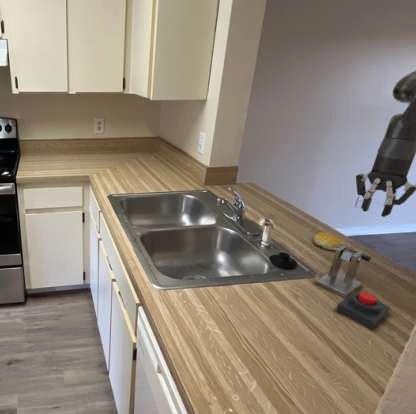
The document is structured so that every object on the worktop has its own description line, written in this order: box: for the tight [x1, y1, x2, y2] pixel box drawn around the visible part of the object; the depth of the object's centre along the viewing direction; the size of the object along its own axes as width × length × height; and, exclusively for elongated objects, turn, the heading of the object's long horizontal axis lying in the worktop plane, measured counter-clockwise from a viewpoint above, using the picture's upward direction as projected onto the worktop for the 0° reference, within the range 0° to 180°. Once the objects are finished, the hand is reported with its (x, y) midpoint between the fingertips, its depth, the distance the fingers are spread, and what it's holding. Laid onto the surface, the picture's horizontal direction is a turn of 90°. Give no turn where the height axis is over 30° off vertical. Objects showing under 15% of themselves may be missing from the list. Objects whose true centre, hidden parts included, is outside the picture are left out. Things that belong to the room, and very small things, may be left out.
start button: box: [358, 291, 378, 306], centre depth 86 cm, size 4×4×2 cm
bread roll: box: [313, 232, 345, 251], centre depth 119 cm, size 8×9×4 cm
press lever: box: [341, 248, 372, 263], centre depth 97 cm, size 12×6×2 cm, turn 124°
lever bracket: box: [315, 244, 364, 299], centre depth 96 cm, size 10×8×12 cm
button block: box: [336, 290, 391, 330], centre depth 87 cm, size 10×8×4 cm
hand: (374, 213), depth 95 cm, fingers open, 4 cm apart
